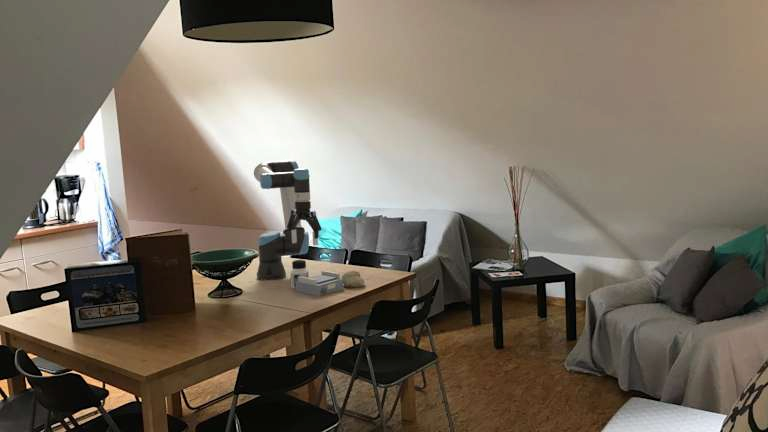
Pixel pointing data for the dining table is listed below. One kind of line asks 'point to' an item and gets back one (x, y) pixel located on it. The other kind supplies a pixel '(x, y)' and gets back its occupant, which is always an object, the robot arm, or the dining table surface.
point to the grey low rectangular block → (320, 283)
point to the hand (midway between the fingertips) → (304, 243)
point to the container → (298, 271)
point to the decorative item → (352, 279)
